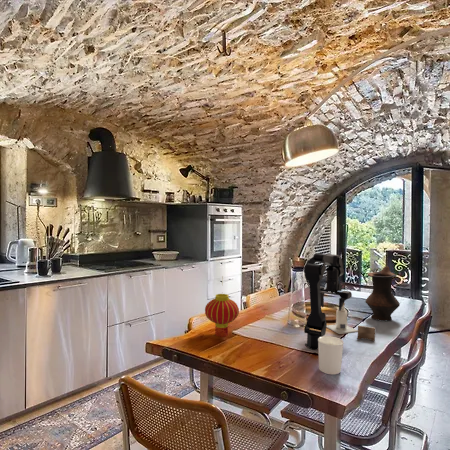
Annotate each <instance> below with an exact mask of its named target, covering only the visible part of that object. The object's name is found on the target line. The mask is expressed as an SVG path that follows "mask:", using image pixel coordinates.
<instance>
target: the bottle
mask: <svg viewBox="0 0 450 450" xmlns="http://www.w3.org/2000/svg"><path fill="white" fill-rule="evenodd" d="M345 304H346V303H345V302H344V304H343V306H342V309H341V311H339V307H338V308H337V309H336V315H335V317H336V318H335V324H336V328H337V329H339V330H346V329H347V326H348V310H347V309H346V308H345Z"/></svg>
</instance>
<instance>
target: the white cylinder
mask: <svg viewBox="0 0 450 450" xmlns="http://www.w3.org/2000/svg"><path fill="white" fill-rule="evenodd" d="M344 344H345V343H344V340H343V339H341V338H339V337H336V336H330V335H324V336H322V337H319V338H318V349H317V350H318V369H319V371H320V372H322V373H324V374H328V375H338V374H339V373H341V371H342V362H343V361H342V360H343V351H344Z"/></svg>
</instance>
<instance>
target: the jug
mask: <svg viewBox="0 0 450 450" xmlns="http://www.w3.org/2000/svg"><path fill="white" fill-rule="evenodd" d="M367 276H368V277H370V278H371V280H372V292H371V294H369V296H367V298H366V299H365V304H366V305H367V306H368V307H369V309H370V311H372V314H371V316H370V317H371V319H372V320H376V321H384V322H388V321H391V320H393V317H392V314H393V313H394V312H395V311H396V310H398V308H399V307H400V302H399V300H398V299H397V298H396V297H395V295H394V294H393V292H392V281H393V278H396V277H398V276H397V274H395V273H393V272H391V270H390V267H389V266H383V268H382V269H381V270H380V271H372V272H371V271H370V272H368V273H367Z"/></svg>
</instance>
